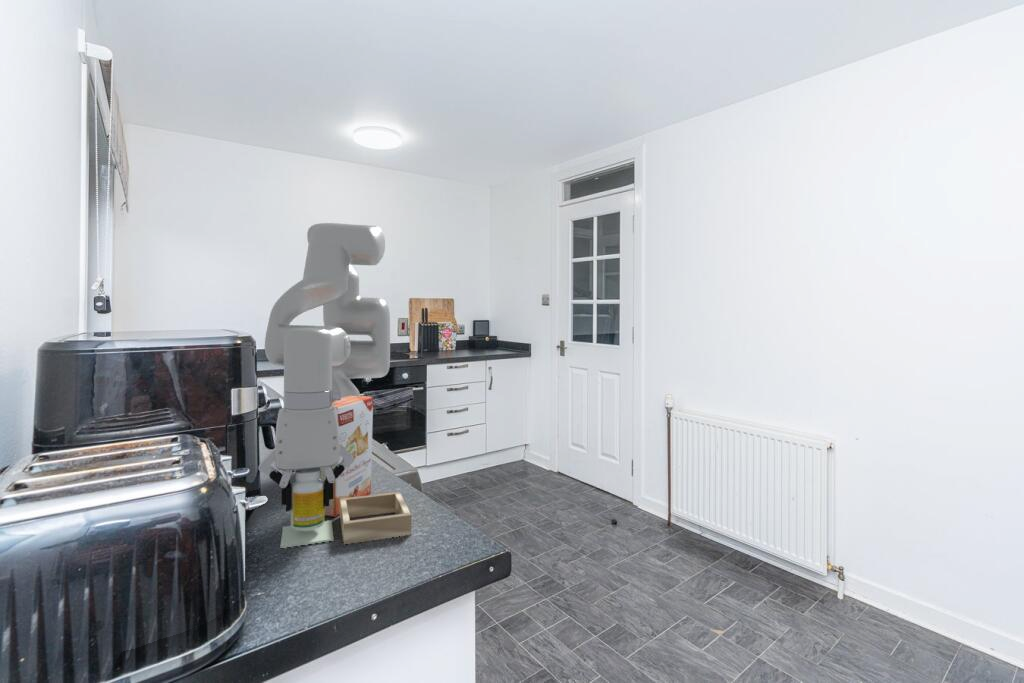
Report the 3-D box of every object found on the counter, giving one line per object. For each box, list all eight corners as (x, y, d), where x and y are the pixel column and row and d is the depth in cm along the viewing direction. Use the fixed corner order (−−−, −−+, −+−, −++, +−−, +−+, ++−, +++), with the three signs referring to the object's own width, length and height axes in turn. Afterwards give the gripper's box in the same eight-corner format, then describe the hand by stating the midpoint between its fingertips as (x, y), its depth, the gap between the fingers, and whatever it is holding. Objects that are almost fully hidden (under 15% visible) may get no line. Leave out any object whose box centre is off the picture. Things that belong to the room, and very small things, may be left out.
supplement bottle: (285, 524, 82) (285, 469, 82) (317, 516, 86) (317, 463, 86) (297, 535, 79) (297, 477, 78) (330, 525, 82) (330, 470, 82)
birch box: (339, 517, 90) (339, 498, 90) (399, 509, 94) (399, 491, 94) (343, 545, 79) (343, 524, 79) (411, 534, 83) (411, 514, 83)
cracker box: (337, 518, 89) (337, 406, 88) (308, 515, 90) (308, 405, 90) (373, 492, 103) (374, 395, 102) (347, 490, 104) (348, 394, 103)
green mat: (282, 528, 84) (282, 526, 84) (331, 522, 88) (331, 520, 87) (280, 549, 77) (280, 546, 77) (333, 541, 80) (333, 538, 80)
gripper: (359, 395, 88) (358, 492, 89) (253, 399, 82) (253, 504, 82) (363, 402, 81) (362, 507, 82) (248, 407, 75) (248, 521, 75)
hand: (307, 504), depth 82 cm, fingers closed on supplement bottle, 5 cm apart
